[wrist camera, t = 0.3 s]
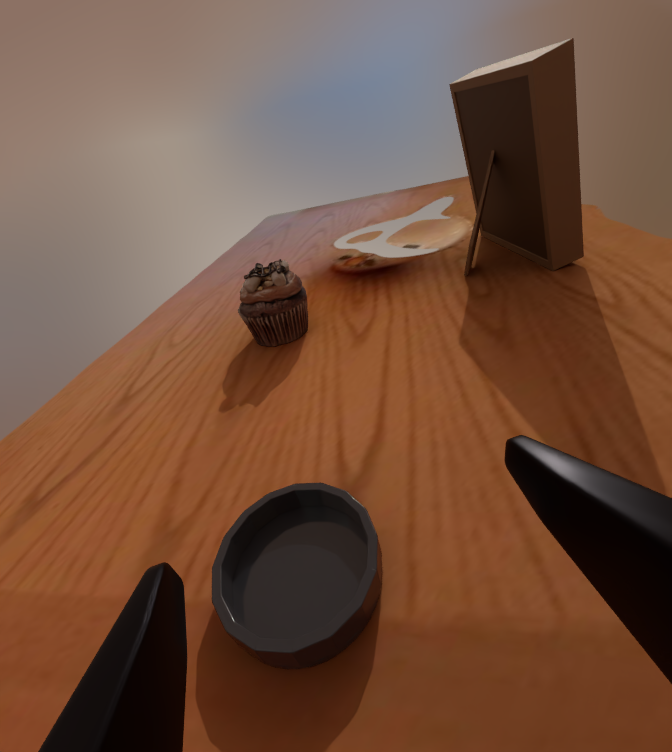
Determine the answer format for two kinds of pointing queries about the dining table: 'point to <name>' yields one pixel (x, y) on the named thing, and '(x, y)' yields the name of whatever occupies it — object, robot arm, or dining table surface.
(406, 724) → the dining table surface
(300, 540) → the tray
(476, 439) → the dining table surface
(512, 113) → the photo frame
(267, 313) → the cupcake
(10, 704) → the dining table surface
